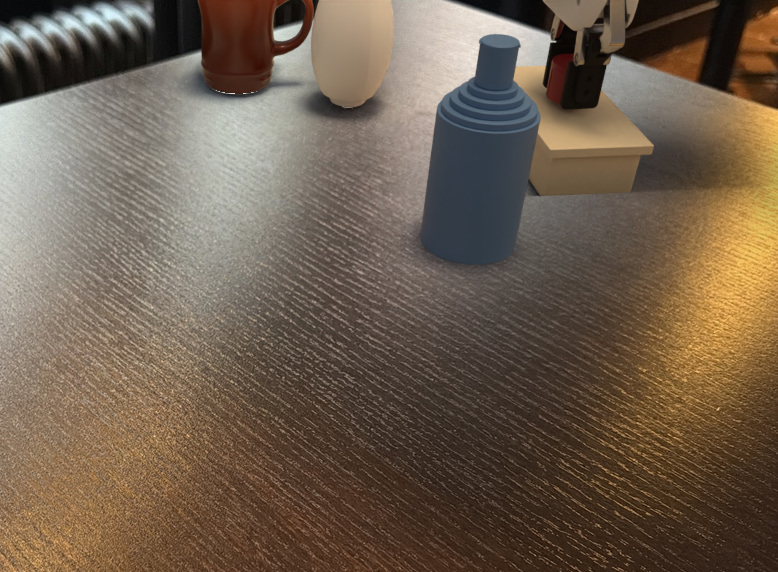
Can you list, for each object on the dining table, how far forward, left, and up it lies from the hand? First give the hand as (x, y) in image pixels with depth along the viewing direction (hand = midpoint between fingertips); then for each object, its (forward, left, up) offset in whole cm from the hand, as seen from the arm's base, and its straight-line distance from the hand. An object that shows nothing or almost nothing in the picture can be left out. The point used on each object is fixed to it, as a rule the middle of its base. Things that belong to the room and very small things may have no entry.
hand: (569, 95), depth 88 cm
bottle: (+13, +17, -6) cm, 22 cm away
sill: (0, 0, -6) cm, 6 cm away
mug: (+26, -19, -6) cm, 33 cm away
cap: (0, 0, 0) cm, 0 cm away
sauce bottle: (+17, -13, -6) cm, 22 cm away
